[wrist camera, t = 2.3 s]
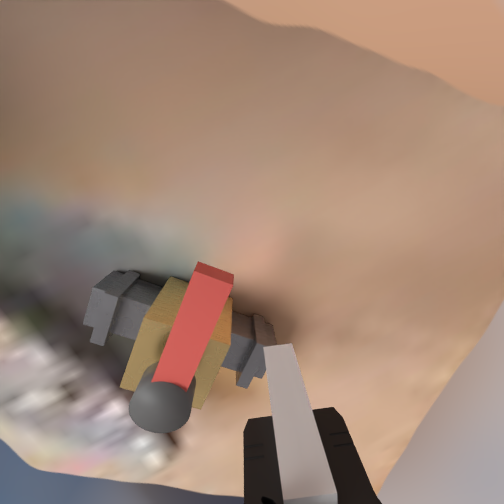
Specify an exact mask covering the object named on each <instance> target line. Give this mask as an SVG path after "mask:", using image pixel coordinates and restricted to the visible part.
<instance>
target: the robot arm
mask: <svg viewBox="0 0 504 504" xmlns="http://www.w3.org/2000/svg"><path fill="white" fill-rule="evenodd" d="M263 349H264V356H265V364H266V372H267V379H268V387H269V395H270V402H271V410H272V416H268V417H260V418H253V419H248V421H247V424H246V427H245V429H244V432H243V433H244V504H382V503H381V502H380V500H379V499H378V498H377V496H376V494H375V492H374V490H373V488H372V486H371V483H370V481H369V479H368V476H367V474H366V471H365V469H364V467H363V464H362V462H361V460H360V457H359V455H358V452H357V450H356V448H355V445H354V443H353V440H352V438H351V436H350V434H349V431H348V429H347V426H346V424H345V421H344V419H343V417H342V416H341V415H340V414H339V413H338V412H337V411H336V410H335V408H334V407H329V408H322V409H314V410H312V408H311V405H310V402H309V398H308V395H307V392H306V388H305V385H304V382H303V378H302V375H301V372H300V368H299V365H298V362H297V359H296V355H295V352H294V349H293V345H292V343H290V344H282V345H275V346H267V347H263Z"/></svg>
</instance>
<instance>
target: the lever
mask: <svg viewBox="0 0 504 504" xmlns="http://www.w3.org/2000/svg"><path fill="white" fill-rule="evenodd" d="M233 279H234V275H233V274H231V273H228V272H225V271H222V270H220V269H217V268H214V267H212V266H209V265H206V264H204V263H201V262H198V263H197V265H196V267H195V270H194V272H193V275H192V277H191V280H190V282H189V285H188V288H187V290H186V293H185V295H184V298H183V301H182V303H181V306H180V308H179V311H178V314H177V316H176V319H175V321H174V324H173V327H172V329H171V332H170V334H169V337H168V340H167V342H166V345H165V347H164V350H163V353H162V355H161V358H160V360H159V361H158V362H155V363H153V364H151V365H150V366H149V367H148V368H147V369H146V370H145V371H144V373H143V375H142V377H141V380H140V382H139V384H138V386H137V388H136V390H135V392H134V394H133V397H132V399H131V401H130V403H129V414H130V417H131V418H132V420H133V421H134V422H135V424H137V425H138V426H139V427H141V428H142V429H144V430H147V431H150V432H154V433H168V432H172V431H175V430H177V429H179V428H181V427H182V426H183V425H184V424H185V423H186V422H187V421H188V419H189V417H190V413H191V408H192V403H193V397H194V392H195V387H196V378H195V375H194V374H195V372H196V369H197V367H198V365H199V362H200V360H201V358H202V356H203V353H204V351H205V349H206V346H207V344H208V342H209V339H210V337H211V335H212V333H213V330H214V328H215V326H216V323H217V321H218V319H219V317H220V314H221V312H222V310H223V307H224V305H225V303H226V301H227V298H228V296H229V294H230V291H231V289H232V287H233Z"/></svg>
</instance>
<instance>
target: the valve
mask: <svg viewBox="0 0 504 504" xmlns="http://www.w3.org/2000/svg"><path fill="white" fill-rule="evenodd" d="M139 277H140V274H139V273H136V272H133V271H130V270H129V271H128V272H126V273H125V274H123V273H120V272H117V271H113V272H111V273H110V274H109V275H108V276H106V277H105V278H104V279H103V280H101V281H100V282H99V283H98V284H96V285H95V286H94V287H93V289H92V293H91V296H90V300H89V304H88V307H87V311H86V314H85V318H84V322H83V324H84V325H88V326H91V327H94V329H93V333H92V336H91V340H90V342H91V343H95V344H98V345H101V346H104V345H105V343H106V342H107V341H108V340H109V338H110V337H111V336H112V334H113V333H114V334H117V335H120V336H124V337H127V338H130V339H133V340H136V341H135V344H134V347H133V350H132V353H131V356H130V359H129V362H128V364H127V367H126V370H125V373H124V376H123V379H122V382H121V385H120V388H124V389H127V390H131V391H135V390H136V388H137V386H138V384H139V382H140V380H141V377H142V375H143V373H144V371H145V370H146V369H147V368H148V367H149V366H150V365H151V364H153V363H155V362H158V361H159V360H160V358H161V355H162V353H163V350H164V347H165V345H166V342H167V340H168V337H169V334H170V332H171V329H172V327H173V324H174V321H175V319H176V316H177V314H178V311H179V308H180V306H181V303H182V301H183V298H184V295H185V293H186V290H187V288H188V285H189V283H188V282H185V281H182V280H179V279H177V278H174V277H171V276H170V278H169V279H168V281H167V282H166V284H165V285H164V287H160V286H158V285H155V284H152V283H149V282H146V281H143V280H140V279H139ZM232 299H233V298H230V297H228V298H227V301H226V303H225V305H224V307H223V310H222V312H221V314H220V317H219V319H218V321H217V323H216V326H215V328H214V330H213V333H212V335H211V337H210V339H209V342H208V344H207V346H206V349H205V351H204V353H203V356H202V358H201V360H200V362H199V365H198V367H197V369H196V372H195V374H194V375H195V378H196V387H195V392H194V397H193V403H192V407H193V408H197V409H201V408H202V406H203V403H204V401H205V399H206V397H207V395H208V393H209V391H210V388H211V386H212V384H213V382H214V380H215V378H216V376H217V373H218V371H219V369H220V367H221V366H222V367H225V368H228V369H232V370H235V371H236V385H237V386H240V387H243V388H248V386H249V384H250V382H251V380H252V378H253V377H254V376H255V377H258V378H261V379H262V377H263V375H264V373H265V371H266V364H265V356H264V349H263V347H267V346H275V345H277V343H276V338H275V334H274V329H273V325H271V324H268V323H265V322H264V317H262V316H259V315H256V314H253V316H252V318H250V317H247V316H244V315H242V314H239V313H236V312H233V311H232Z"/></svg>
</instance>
